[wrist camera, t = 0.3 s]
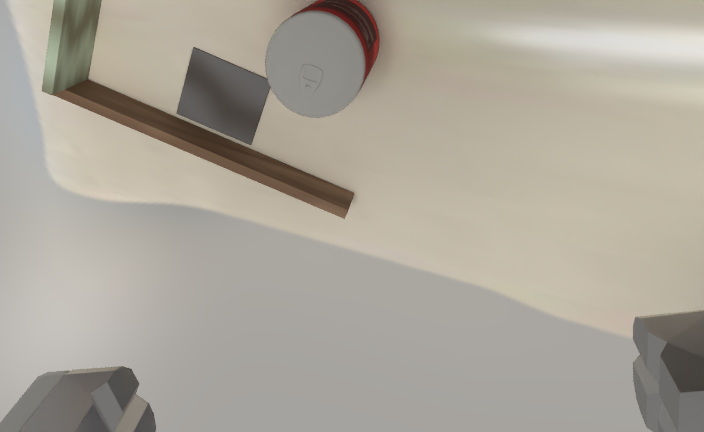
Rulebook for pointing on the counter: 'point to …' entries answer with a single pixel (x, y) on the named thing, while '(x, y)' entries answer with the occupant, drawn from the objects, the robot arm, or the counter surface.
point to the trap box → (182, 107)
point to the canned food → (322, 57)
